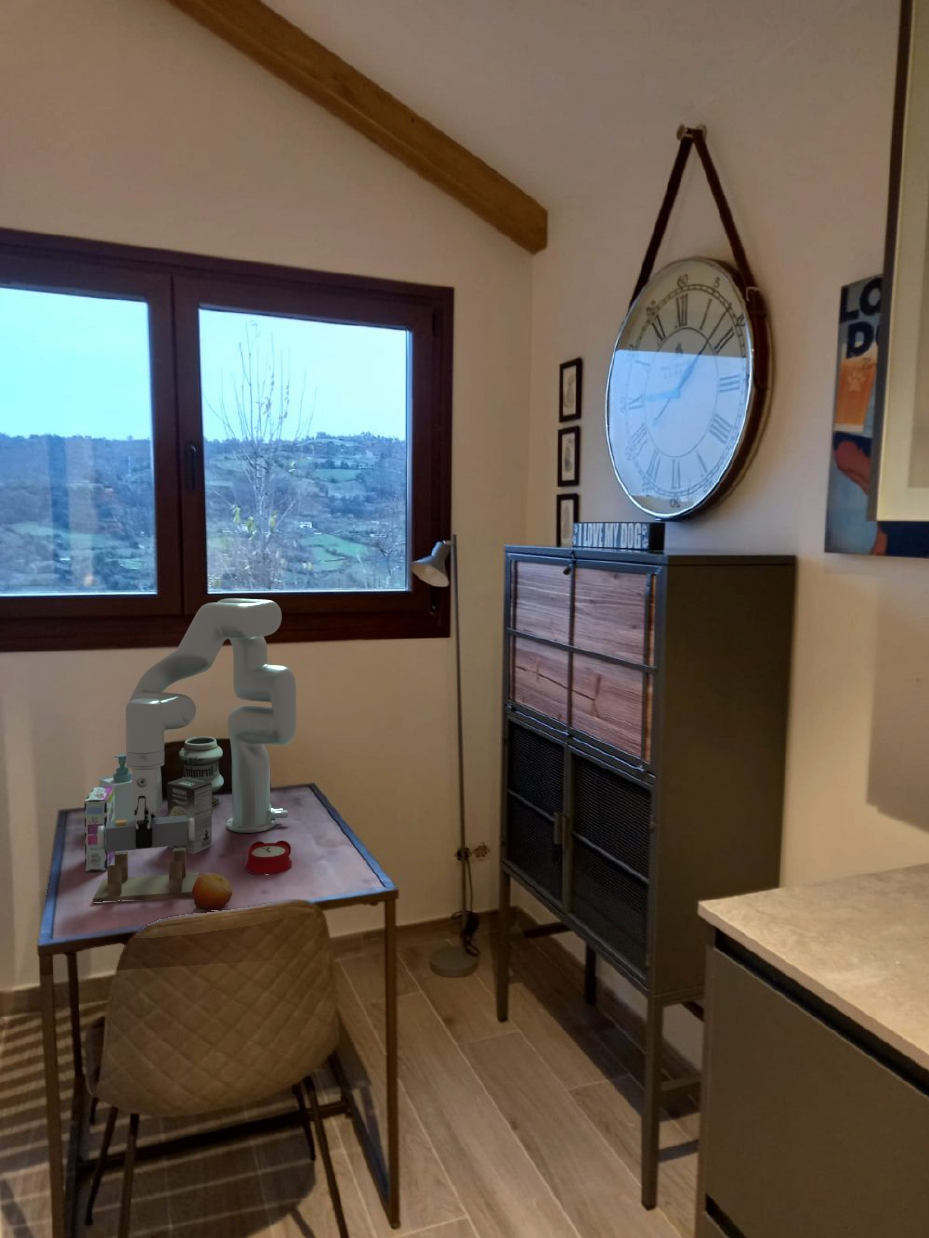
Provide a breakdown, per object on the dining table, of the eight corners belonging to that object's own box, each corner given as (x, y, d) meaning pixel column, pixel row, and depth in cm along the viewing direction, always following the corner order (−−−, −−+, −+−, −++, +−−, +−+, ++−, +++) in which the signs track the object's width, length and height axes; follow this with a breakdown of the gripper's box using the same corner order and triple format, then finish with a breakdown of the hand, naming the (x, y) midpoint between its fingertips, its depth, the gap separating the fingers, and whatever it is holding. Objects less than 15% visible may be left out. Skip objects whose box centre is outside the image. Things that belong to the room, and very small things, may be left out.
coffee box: (166, 847, 207) (165, 782, 205) (186, 839, 213) (185, 776, 211) (194, 854, 203) (193, 788, 201) (213, 845, 208) (212, 781, 207)
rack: (199, 877, 189) (199, 846, 188) (195, 896, 179) (194, 863, 179) (103, 884, 185) (102, 851, 184) (93, 903, 175) (92, 869, 174)
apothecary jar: (181, 811, 233) (180, 746, 232) (176, 798, 244) (175, 736, 243) (227, 806, 238) (226, 742, 237) (220, 793, 249) (219, 733, 248)
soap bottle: (148, 827, 221) (146, 754, 219) (114, 835, 214) (112, 760, 212) (132, 819, 227) (131, 748, 225) (99, 826, 220) (97, 754, 218)
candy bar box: (108, 871, 192) (106, 799, 190) (84, 872, 191) (82, 801, 189) (117, 852, 203) (115, 785, 201) (94, 854, 202) (92, 786, 200)
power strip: (193, 836, 186) (193, 811, 186) (194, 843, 182) (194, 818, 181) (99, 845, 180) (98, 819, 179) (97, 853, 175) (97, 826, 175)
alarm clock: (242, 863, 189) (248, 825, 203) (243, 887, 191) (249, 848, 205) (290, 861, 191) (293, 824, 205) (290, 885, 193) (293, 846, 207)
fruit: (187, 893, 178) (207, 861, 177) (221, 911, 179) (241, 879, 178) (178, 910, 170) (198, 876, 169) (213, 929, 171) (234, 895, 170)
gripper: (158, 767, 172) (159, 856, 173) (169, 748, 188) (169, 828, 190) (118, 769, 170) (119, 858, 172) (133, 749, 187) (134, 830, 188)
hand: (146, 841), depth 181 cm, fingers closed on power strip, 5 cm apart
